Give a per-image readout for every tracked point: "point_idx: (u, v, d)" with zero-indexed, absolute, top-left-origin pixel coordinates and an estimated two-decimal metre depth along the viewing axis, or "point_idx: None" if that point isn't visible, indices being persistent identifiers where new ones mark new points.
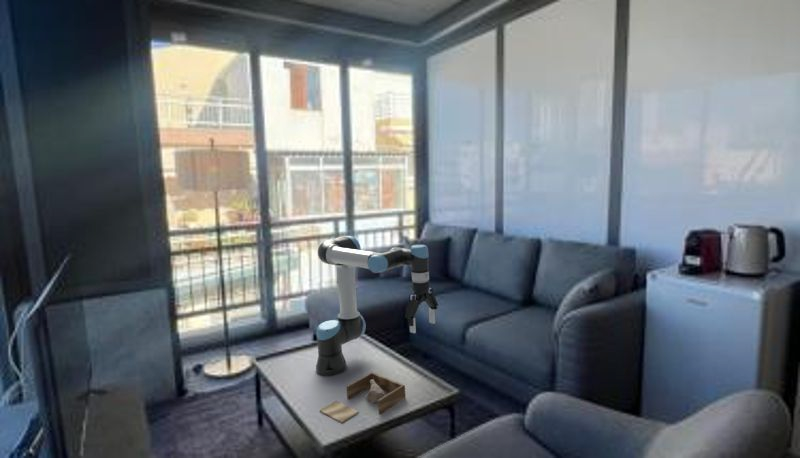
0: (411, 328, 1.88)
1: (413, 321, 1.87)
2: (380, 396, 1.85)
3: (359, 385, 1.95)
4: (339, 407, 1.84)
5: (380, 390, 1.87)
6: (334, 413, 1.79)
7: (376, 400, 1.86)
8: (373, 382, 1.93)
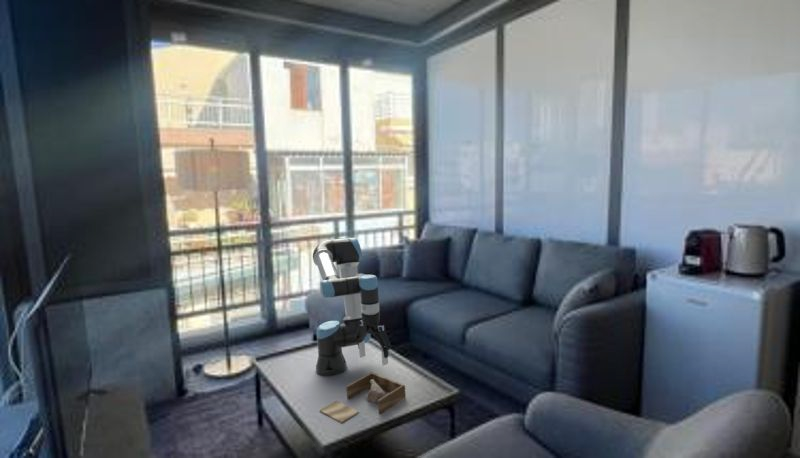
0: None
1: (359, 345, 1.91)
2: (381, 396, 1.85)
3: (359, 385, 1.95)
4: (339, 407, 1.84)
5: (380, 390, 1.87)
6: (334, 413, 1.79)
7: (376, 400, 1.86)
8: (373, 382, 1.93)
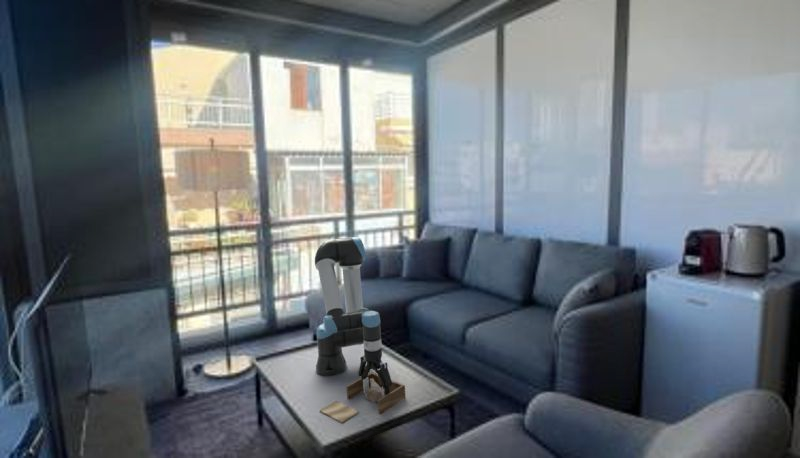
0: None
1: (363, 381, 1.93)
2: (380, 395, 1.85)
3: (359, 385, 1.95)
4: (339, 407, 1.84)
5: (380, 389, 1.87)
6: (334, 413, 1.79)
7: (376, 399, 1.86)
8: (373, 381, 1.94)
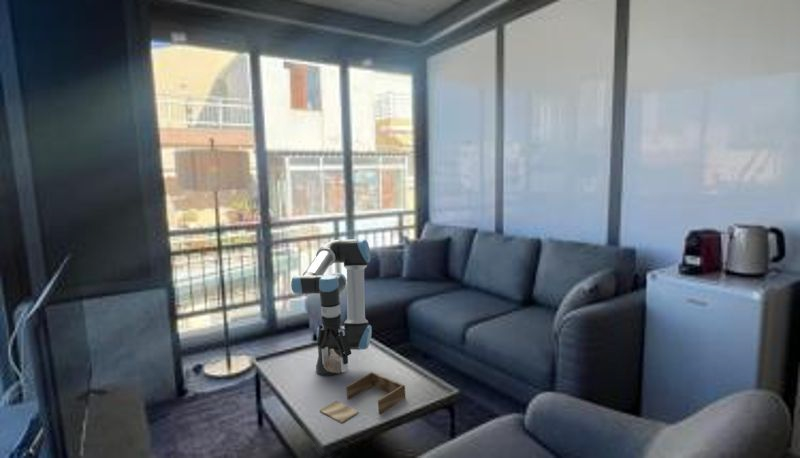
0: None
1: (322, 351, 1.81)
2: (338, 365, 1.74)
3: (359, 385, 1.95)
4: (339, 407, 1.84)
5: (339, 359, 1.76)
6: (334, 413, 1.79)
7: (334, 369, 1.75)
8: (332, 351, 1.82)
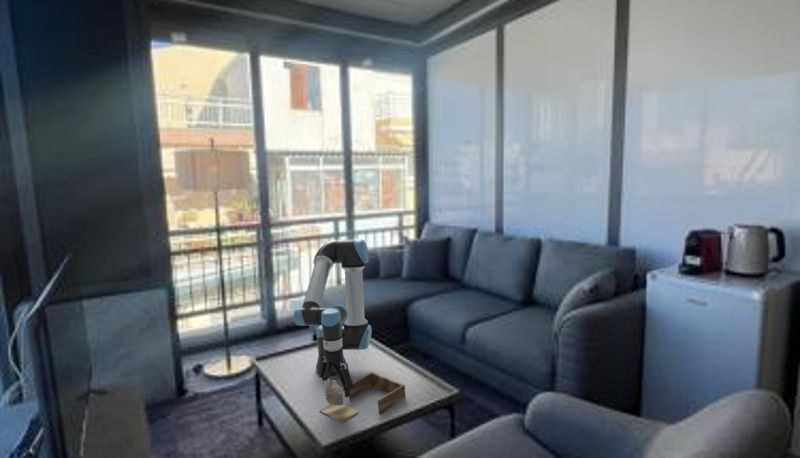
0: None
1: (324, 383, 1.83)
2: (340, 398, 1.75)
3: (359, 385, 1.95)
4: (339, 407, 1.84)
5: (340, 391, 1.78)
6: (334, 413, 1.79)
7: (336, 402, 1.76)
8: (334, 383, 1.84)
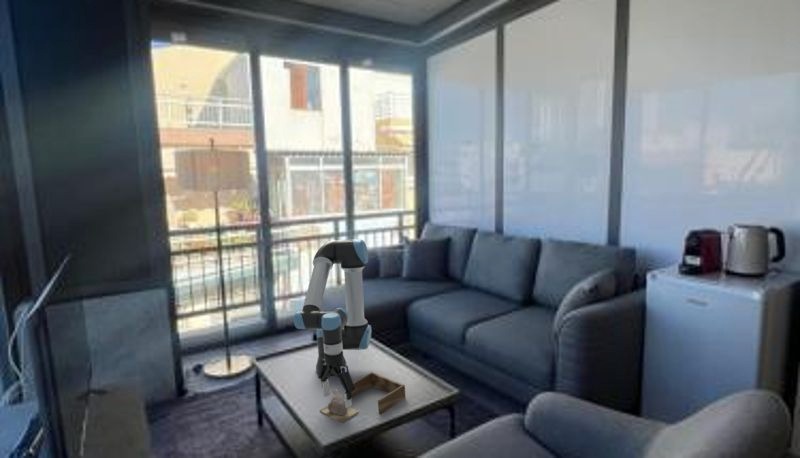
0: None
1: (323, 384, 1.84)
2: (341, 408, 1.76)
3: (359, 385, 1.95)
4: None
5: (342, 401, 1.78)
6: None
7: (337, 412, 1.77)
8: (336, 392, 1.85)
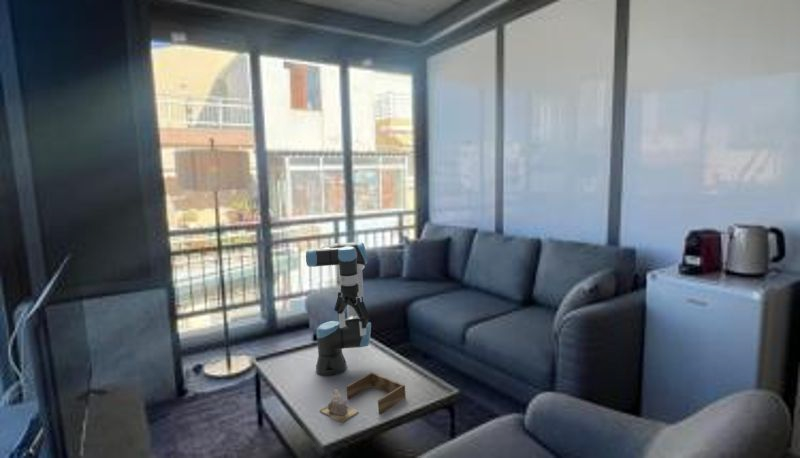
0: None
1: (339, 316, 1.93)
2: (341, 408, 1.76)
3: (359, 385, 1.95)
4: None
5: (342, 401, 1.78)
6: None
7: (337, 412, 1.77)
8: (336, 392, 1.85)
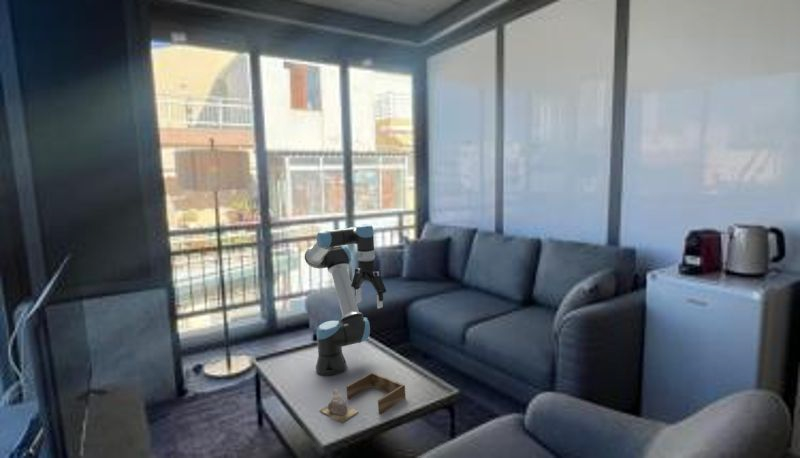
0: None
1: (356, 291, 2.04)
2: (341, 408, 1.76)
3: (359, 385, 1.95)
4: None
5: (342, 401, 1.78)
6: None
7: (337, 412, 1.77)
8: (336, 392, 1.85)
